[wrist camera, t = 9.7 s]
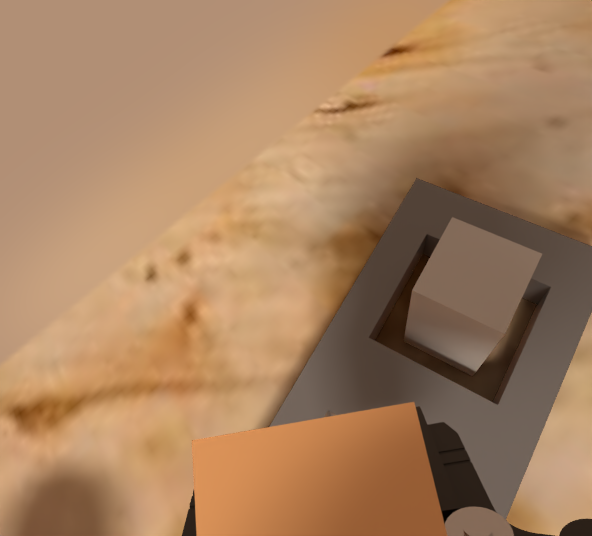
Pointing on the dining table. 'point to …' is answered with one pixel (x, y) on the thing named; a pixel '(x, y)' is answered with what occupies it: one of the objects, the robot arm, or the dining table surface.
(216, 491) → the plug
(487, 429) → the grey block holder
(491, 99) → the dining table surface
